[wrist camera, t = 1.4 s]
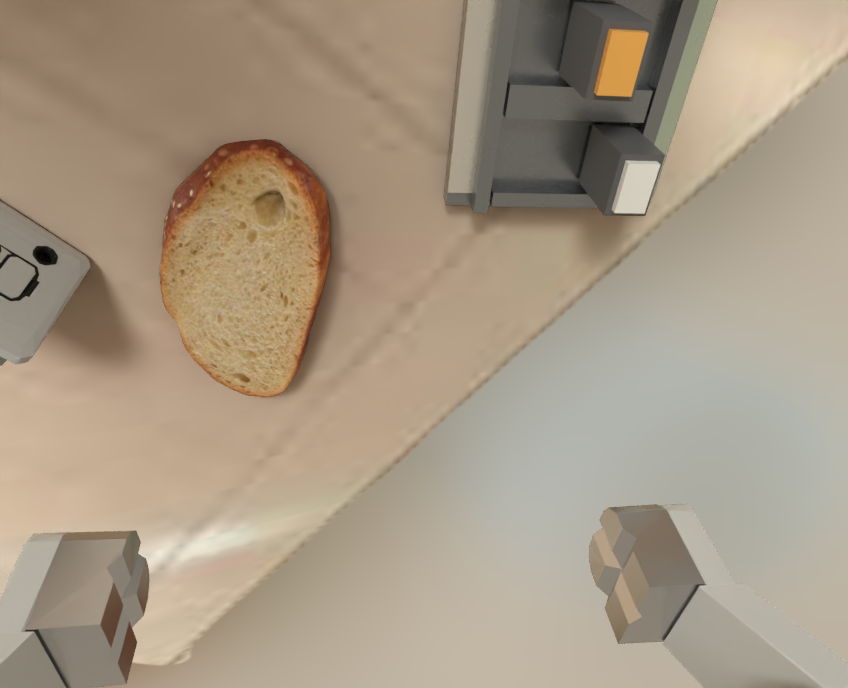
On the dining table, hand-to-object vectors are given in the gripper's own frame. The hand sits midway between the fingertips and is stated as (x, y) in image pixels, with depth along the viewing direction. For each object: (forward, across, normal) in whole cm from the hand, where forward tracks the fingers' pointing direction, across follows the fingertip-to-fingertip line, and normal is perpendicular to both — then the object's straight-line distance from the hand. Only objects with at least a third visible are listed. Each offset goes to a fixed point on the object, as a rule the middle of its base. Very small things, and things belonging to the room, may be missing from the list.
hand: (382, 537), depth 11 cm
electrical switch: (+34, +22, +13) cm, 43 cm away
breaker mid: (+32, -14, -3) cm, 35 cm away
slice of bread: (+35, +6, +16) cm, 39 cm away
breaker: (+32, -18, +4) cm, 37 cm away
